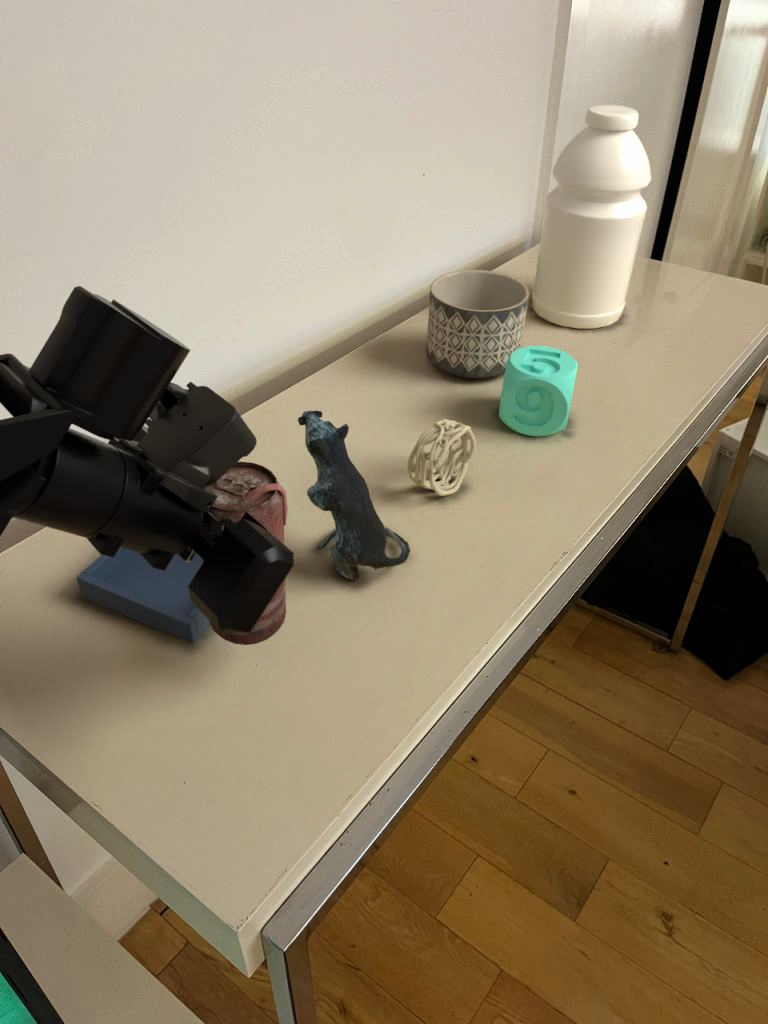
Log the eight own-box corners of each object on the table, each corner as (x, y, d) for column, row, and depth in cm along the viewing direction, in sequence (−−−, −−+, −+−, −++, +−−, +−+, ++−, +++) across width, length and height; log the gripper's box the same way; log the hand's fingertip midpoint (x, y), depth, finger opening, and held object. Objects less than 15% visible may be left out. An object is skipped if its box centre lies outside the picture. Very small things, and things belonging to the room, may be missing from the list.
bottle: (523, 322, 116) (552, 117, 98) (536, 285, 126) (565, 93, 108) (619, 336, 113) (667, 127, 95) (625, 297, 123) (670, 102, 105)
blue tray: (193, 644, 67) (189, 624, 66) (81, 596, 72) (75, 577, 70) (271, 555, 76) (269, 536, 75) (168, 517, 80) (164, 499, 79)
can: (293, 642, 61) (291, 507, 52) (211, 652, 60) (194, 515, 51) (284, 587, 66) (281, 454, 57) (208, 595, 64) (192, 460, 55)
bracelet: (476, 476, 87) (483, 415, 81) (434, 511, 82) (439, 449, 77) (447, 462, 88) (452, 402, 83) (404, 496, 84) (407, 434, 79)
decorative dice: (568, 407, 98) (580, 350, 93) (563, 441, 92) (574, 382, 87) (505, 397, 99) (513, 340, 94) (496, 431, 93) (503, 372, 88)
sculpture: (343, 511, 82) (340, 386, 72) (425, 556, 76) (433, 429, 67) (287, 552, 77) (275, 425, 67) (370, 604, 71) (370, 474, 62)
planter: (506, 393, 100) (516, 318, 94) (413, 374, 104) (417, 300, 97) (527, 349, 109) (538, 278, 103) (441, 333, 113) (446, 263, 106)
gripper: (253, 444, 40) (403, 519, 53) (92, 318, 51) (249, 406, 63) (141, 621, 41) (315, 653, 54) (6, 461, 52) (178, 520, 64)
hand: (262, 547), depth 59 cm, fingers closed on can, 5 cm apart
